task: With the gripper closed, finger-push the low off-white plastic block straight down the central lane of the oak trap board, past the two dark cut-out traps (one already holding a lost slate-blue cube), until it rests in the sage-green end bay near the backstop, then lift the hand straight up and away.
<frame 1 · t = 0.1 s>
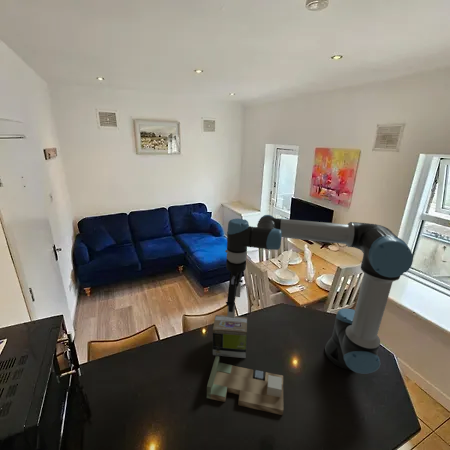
hand: (234, 306, 103), 28 cm above the kitchen island, fingers open, 13 cm apart
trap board: (246, 388, 99), on the kitchen island
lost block: (258, 380, 103), on the kitchen island
tea box: (229, 349, 118), on the kitchen island
cream block: (273, 389, 97), point 2 cm above the kitchen island, touching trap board
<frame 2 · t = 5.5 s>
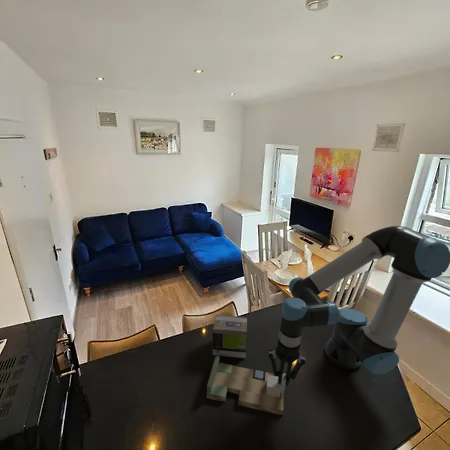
hand: (282, 389, 96), 4 cm above the kitchen island, fingers closed
cream block: (273, 389, 97), point 3 cm above the kitchen island, touching gripper
everything else where it was.
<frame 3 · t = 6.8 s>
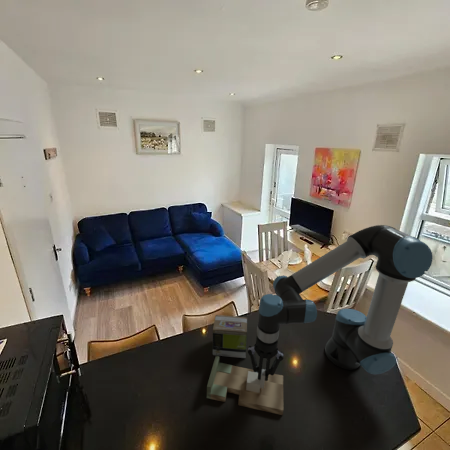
hand: (262, 385, 97), 4 cm above the kitchen island, fingers closed
cream block: (253, 385, 98), point 3 cm above the kitchen island, touching gripper
everything else where it was.
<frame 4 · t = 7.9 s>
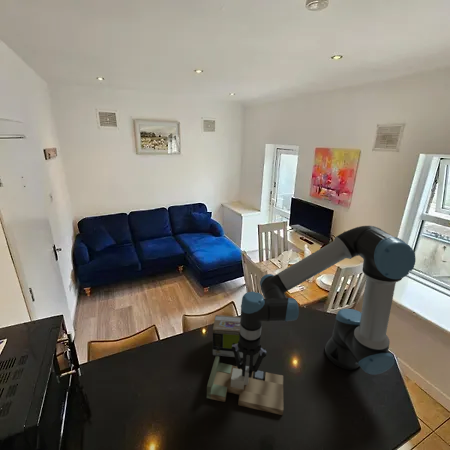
hand: (246, 381, 98), 4 cm above the kitchen island, fingers closed
cream block: (238, 382, 99), point 3 cm above the kitchen island, touching gripper
everything else where it was.
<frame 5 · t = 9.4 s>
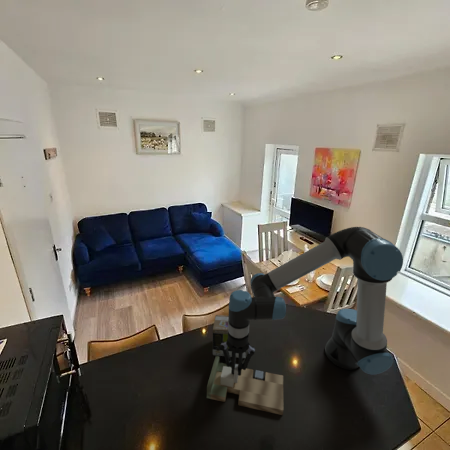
hand: (236, 379, 99), 4 cm above the kitchen island, fingers closed
cream block: (228, 380, 100), point 2 cm above the kitchen island, touching gripper, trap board
everything else where it was.
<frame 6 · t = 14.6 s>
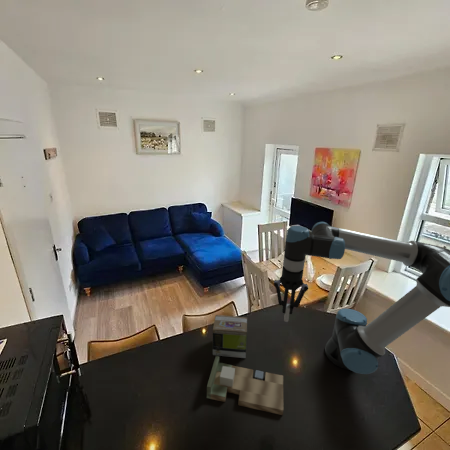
hand: (286, 319, 102), 24 cm above the kitchen island, fingers closed
cream block: (227, 380, 100), point 2 cm above the kitchen island, touching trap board
everything else where it was.
at the end: cream block inside the target area (1.9 cm from its centre), point 2.5 cm above the kitchen island; cream block tilted 0° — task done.
